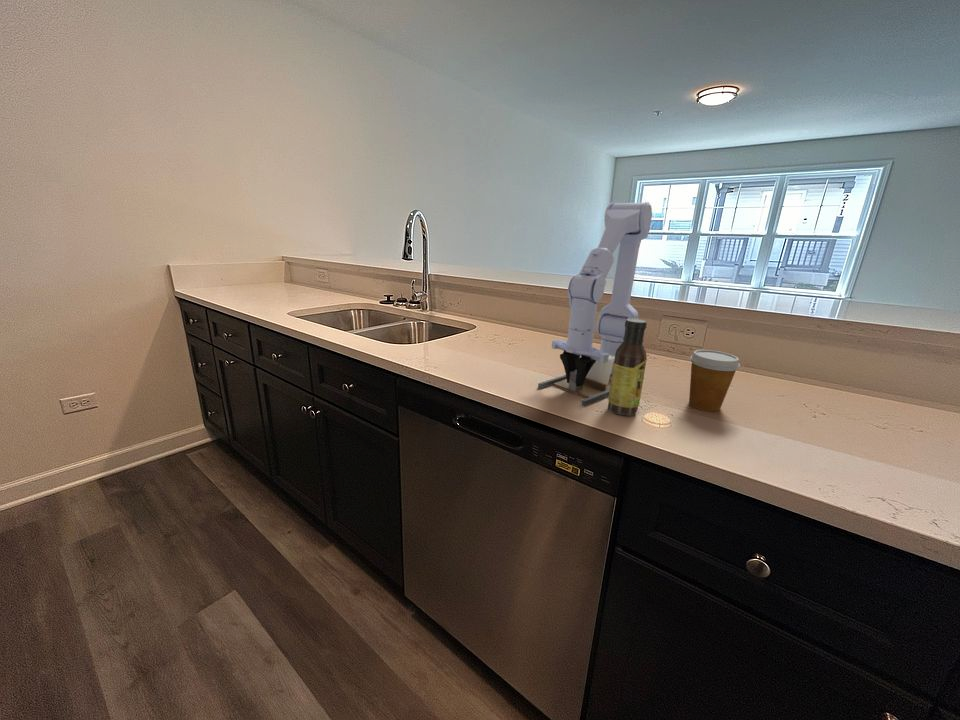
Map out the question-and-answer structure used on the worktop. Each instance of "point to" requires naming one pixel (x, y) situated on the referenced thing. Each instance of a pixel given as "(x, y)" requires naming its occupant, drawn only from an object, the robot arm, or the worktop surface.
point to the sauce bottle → (628, 370)
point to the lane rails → (583, 402)
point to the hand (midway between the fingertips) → (574, 383)
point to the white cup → (601, 371)
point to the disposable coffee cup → (711, 378)
